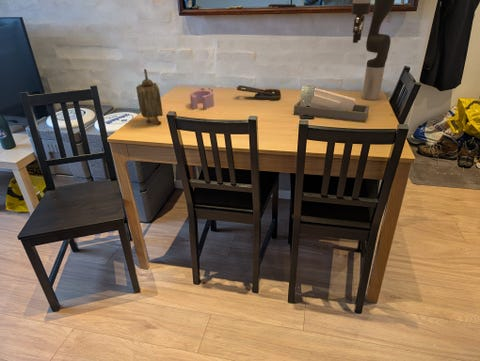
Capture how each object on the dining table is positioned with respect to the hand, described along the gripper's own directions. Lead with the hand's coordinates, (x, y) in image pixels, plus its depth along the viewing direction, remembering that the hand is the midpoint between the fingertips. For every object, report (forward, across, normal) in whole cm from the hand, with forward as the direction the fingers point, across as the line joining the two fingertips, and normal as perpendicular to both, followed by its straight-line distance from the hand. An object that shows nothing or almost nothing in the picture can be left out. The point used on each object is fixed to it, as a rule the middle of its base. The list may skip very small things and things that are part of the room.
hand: (356, 41), depth 160 cm
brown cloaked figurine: (+33, -48, +85) cm, 103 cm away
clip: (+34, -14, +76) cm, 84 cm away
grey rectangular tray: (+33, -8, +7) cm, 35 cm away
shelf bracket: (+32, -8, +10) cm, 35 cm away
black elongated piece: (+33, +7, +51) cm, 61 cm away
